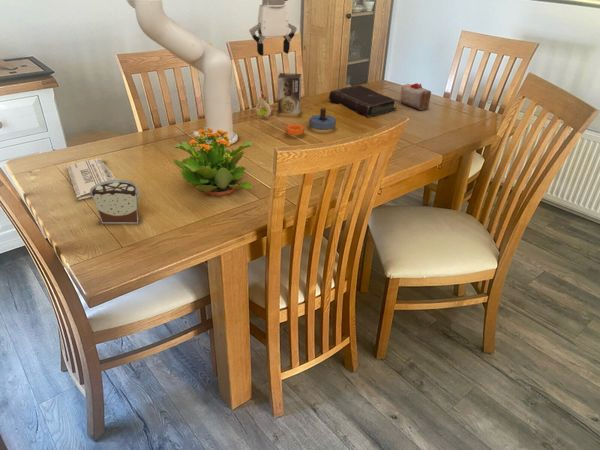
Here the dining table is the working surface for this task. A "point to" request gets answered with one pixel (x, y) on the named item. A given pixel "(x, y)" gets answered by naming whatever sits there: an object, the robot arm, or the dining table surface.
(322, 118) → the ring post
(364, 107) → the diary
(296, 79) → the coffee box
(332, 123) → the blue ring
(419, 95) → the food item
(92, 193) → the cake slice
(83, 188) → the newspaper
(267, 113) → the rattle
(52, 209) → the dining table surface
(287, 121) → the dining table surface
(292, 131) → the orange ring
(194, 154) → the potted flower
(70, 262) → the dining table surface
